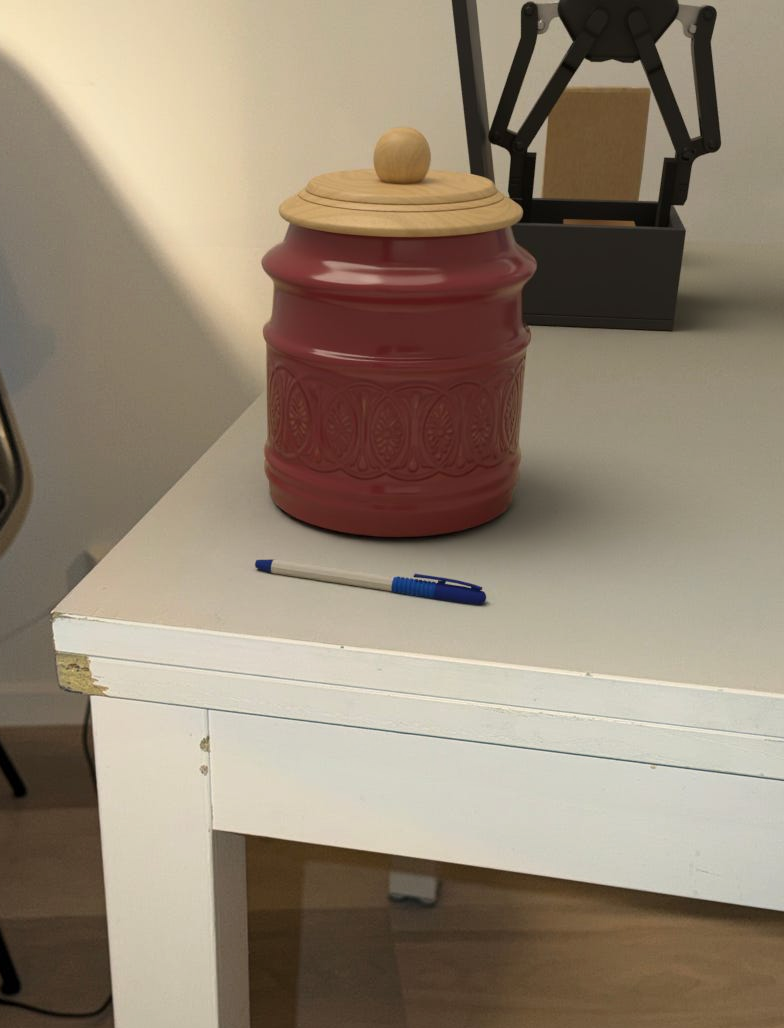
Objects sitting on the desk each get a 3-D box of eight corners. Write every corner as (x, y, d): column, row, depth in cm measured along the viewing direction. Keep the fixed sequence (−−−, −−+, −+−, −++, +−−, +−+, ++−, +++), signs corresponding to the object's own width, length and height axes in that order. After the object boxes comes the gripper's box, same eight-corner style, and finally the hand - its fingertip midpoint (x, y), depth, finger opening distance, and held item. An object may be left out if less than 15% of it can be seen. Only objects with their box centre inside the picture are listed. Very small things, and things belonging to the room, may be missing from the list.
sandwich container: (625, 236, 130) (643, 73, 123) (632, 268, 117) (653, 87, 110) (538, 233, 132) (551, 72, 125) (535, 264, 118) (550, 85, 111)
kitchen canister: (247, 459, 72) (240, 114, 64) (474, 445, 74) (496, 110, 66) (287, 552, 60) (285, 148, 52) (554, 533, 62) (592, 141, 54)
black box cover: (474, -21, 100) (461, -18, 100) (464, -19, 89) (449, -16, 89) (495, 188, 106) (483, 190, 107) (488, 214, 95) (475, 216, 96)
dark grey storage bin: (660, 293, 108) (672, 201, 105) (672, 331, 97) (686, 229, 94) (483, 286, 110) (488, 196, 107) (475, 322, 99) (481, 223, 96)
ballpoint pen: (487, 600, 56) (489, 579, 56) (483, 609, 56) (485, 588, 55) (258, 568, 59) (258, 548, 59) (251, 576, 58) (251, 556, 58)
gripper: (464, -88, 89) (443, 248, 100) (803, -84, 86) (744, 262, 96) (470, -84, 96) (450, 230, 106) (785, -80, 93) (732, 243, 103)
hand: (590, 245), depth 101 cm, fingers open, 10 cm apart
